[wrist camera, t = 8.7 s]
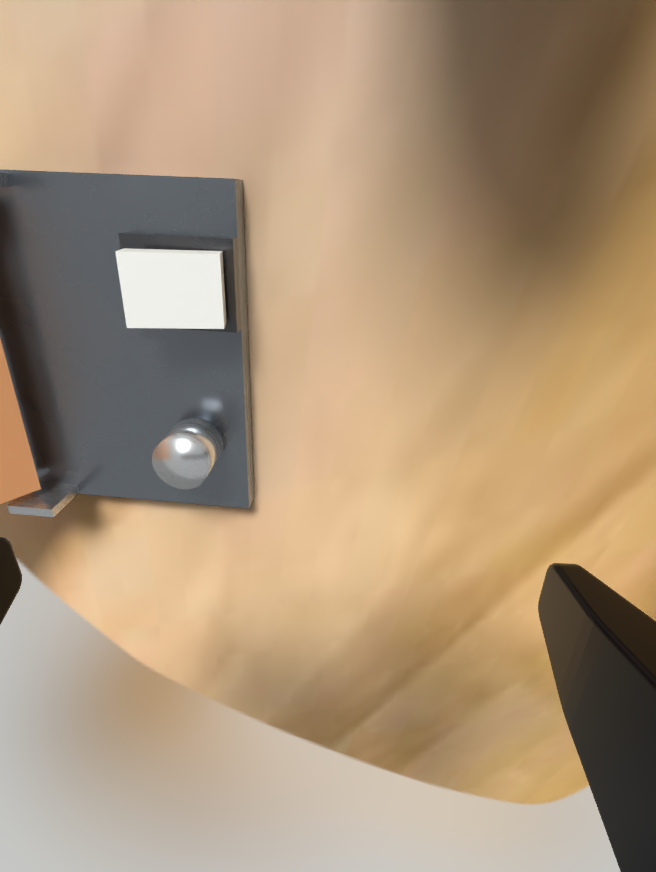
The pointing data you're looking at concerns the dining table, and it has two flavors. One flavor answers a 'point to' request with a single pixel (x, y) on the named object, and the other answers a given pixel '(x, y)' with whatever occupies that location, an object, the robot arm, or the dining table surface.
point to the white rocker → (172, 288)
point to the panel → (119, 335)
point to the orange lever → (13, 443)
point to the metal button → (187, 453)
